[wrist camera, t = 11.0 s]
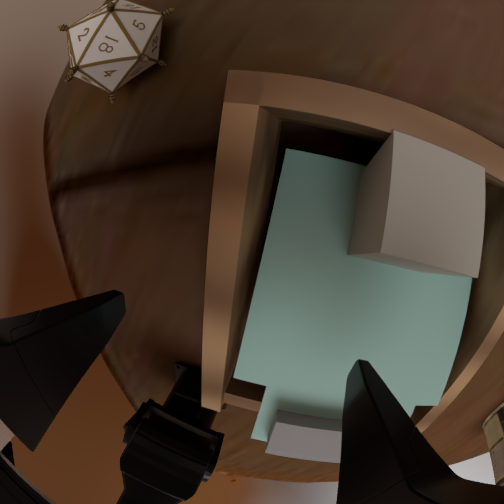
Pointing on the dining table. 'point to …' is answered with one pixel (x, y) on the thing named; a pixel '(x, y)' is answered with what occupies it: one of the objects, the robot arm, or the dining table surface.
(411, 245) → the grey block
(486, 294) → the box frame
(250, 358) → the trapdoor
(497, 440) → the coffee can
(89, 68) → the game die
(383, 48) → the dining table surface
